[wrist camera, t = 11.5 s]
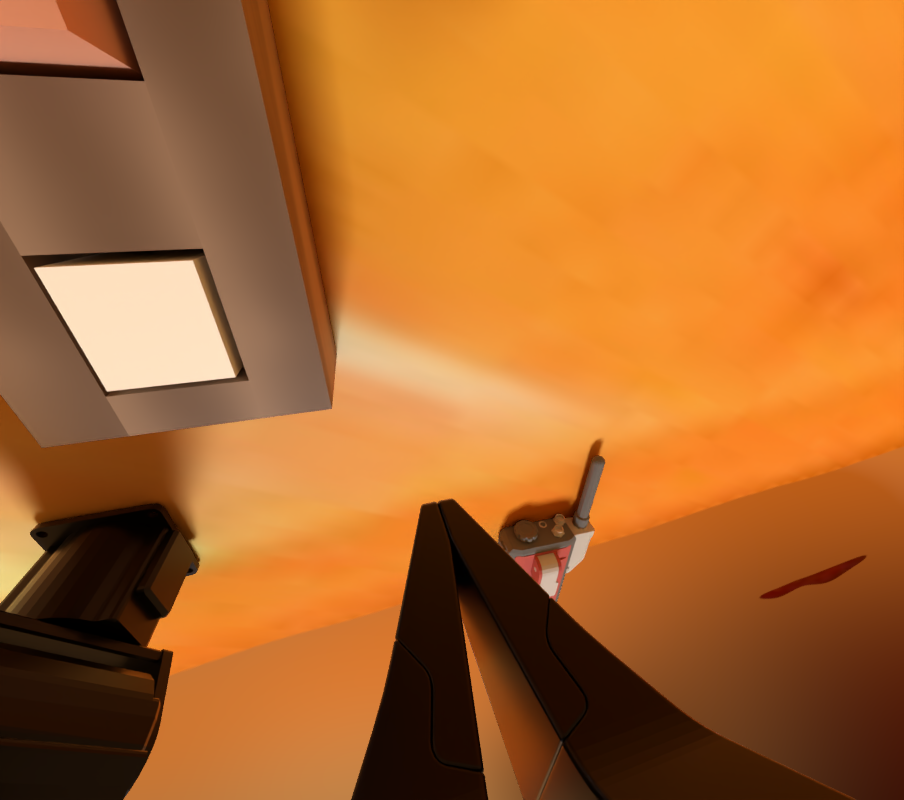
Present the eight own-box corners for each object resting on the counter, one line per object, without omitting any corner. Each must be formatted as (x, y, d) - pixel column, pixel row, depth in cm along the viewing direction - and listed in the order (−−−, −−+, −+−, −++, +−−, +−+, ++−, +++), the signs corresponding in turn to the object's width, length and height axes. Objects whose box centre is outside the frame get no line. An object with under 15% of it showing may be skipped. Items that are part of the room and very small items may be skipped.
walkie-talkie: (559, 586, 39) (601, 445, 29) (580, 626, 36) (637, 480, 26) (486, 603, 37) (505, 459, 27) (501, 648, 34) (528, 500, 24)
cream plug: (178, 335, 17) (107, 391, 12) (139, 245, 15) (33, 267, 10) (267, 327, 17) (235, 377, 13) (242, 241, 15) (192, 260, 11)
